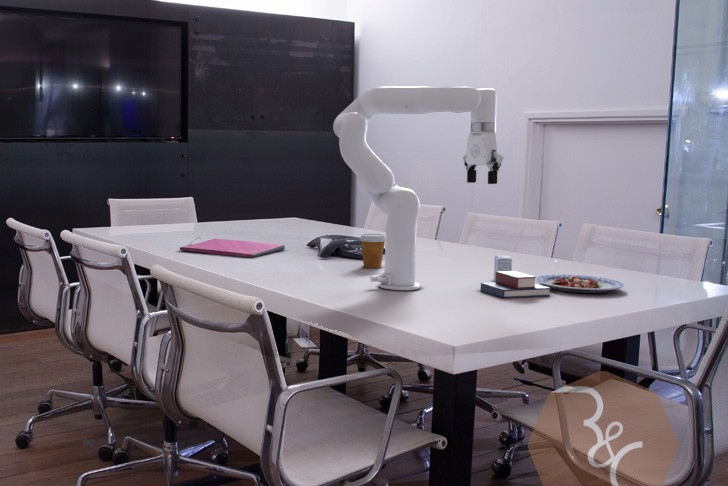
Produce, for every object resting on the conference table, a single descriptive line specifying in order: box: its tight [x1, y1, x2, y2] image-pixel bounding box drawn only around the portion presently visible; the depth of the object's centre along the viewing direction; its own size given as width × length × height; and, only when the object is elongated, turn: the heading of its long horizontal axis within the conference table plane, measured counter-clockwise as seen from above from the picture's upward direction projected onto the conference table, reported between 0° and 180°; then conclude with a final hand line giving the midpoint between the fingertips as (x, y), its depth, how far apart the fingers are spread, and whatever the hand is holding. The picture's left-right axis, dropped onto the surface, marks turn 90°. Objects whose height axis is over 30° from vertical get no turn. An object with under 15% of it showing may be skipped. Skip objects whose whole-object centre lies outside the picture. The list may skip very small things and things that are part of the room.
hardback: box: [480, 281, 551, 299], centre depth 234 cm, size 16×12×2 cm
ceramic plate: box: [535, 274, 625, 294], centre depth 243 cm, size 26×26×3 cm
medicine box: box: [493, 254, 513, 282], centre depth 252 cm, size 8×4×9 cm, turn 168°
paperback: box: [494, 270, 537, 289], centre depth 234 cm, size 6×11×4 cm, turn 14°
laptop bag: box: [179, 236, 286, 259], centre depth 327 cm, size 40×4×27 cm
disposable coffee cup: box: [359, 233, 386, 269], centre depth 283 cm, size 10×10×12 cm
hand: (481, 183), depth 242 cm, fingers open, 9 cm apart
